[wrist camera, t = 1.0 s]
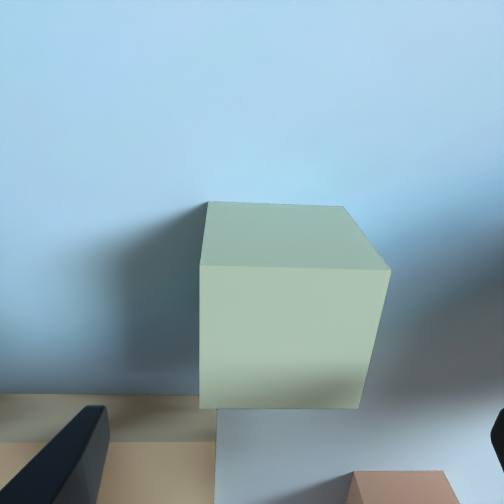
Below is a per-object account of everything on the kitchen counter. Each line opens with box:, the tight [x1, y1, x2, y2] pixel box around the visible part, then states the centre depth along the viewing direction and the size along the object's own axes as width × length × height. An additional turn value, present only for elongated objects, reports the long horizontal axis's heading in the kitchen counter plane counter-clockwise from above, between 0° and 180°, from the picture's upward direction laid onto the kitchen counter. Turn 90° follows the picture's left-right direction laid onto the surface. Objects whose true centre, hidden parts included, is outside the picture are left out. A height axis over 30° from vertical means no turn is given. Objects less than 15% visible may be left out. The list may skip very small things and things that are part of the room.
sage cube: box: [199, 201, 392, 409], centre depth 14 cm, size 5×5×5 cm
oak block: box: [0, 393, 217, 504], centre depth 20 cm, size 10×10×3 cm
